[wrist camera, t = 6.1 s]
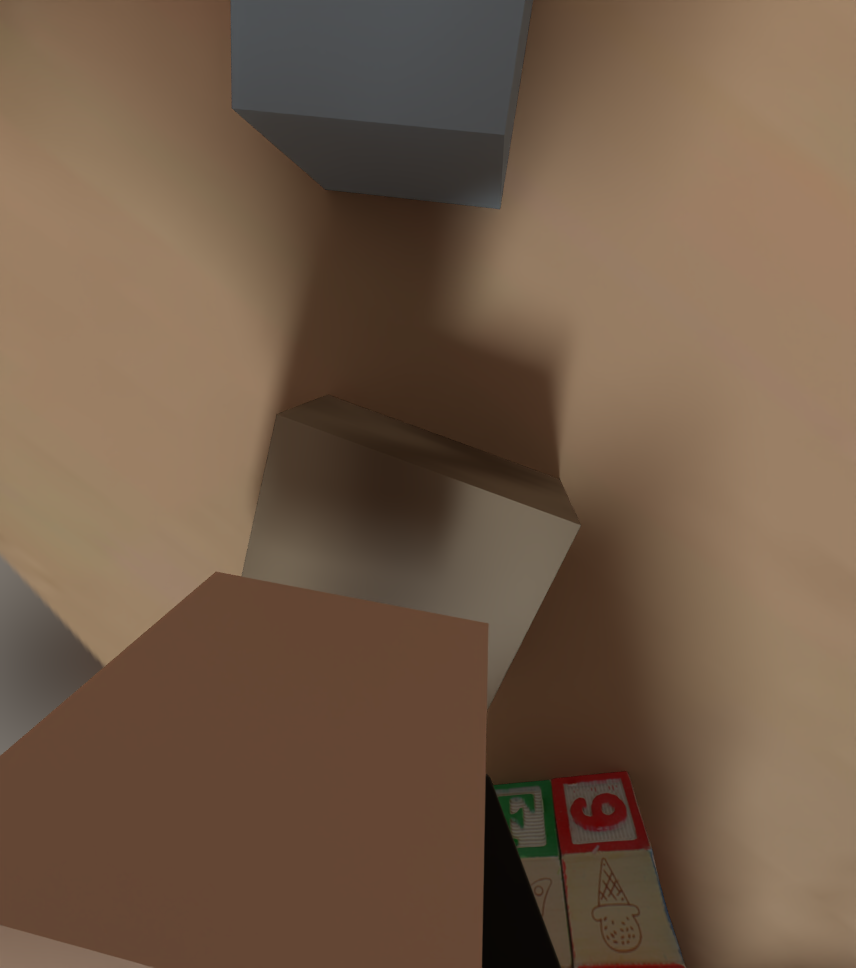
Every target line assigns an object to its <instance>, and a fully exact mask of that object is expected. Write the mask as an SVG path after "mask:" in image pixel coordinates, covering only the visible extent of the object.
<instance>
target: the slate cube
mask: <svg viewBox="0 0 856 968" xmlns="http://www.w3.org/2000/svg"><path fill="white" fill-rule="evenodd" d="M532 4H533V0H231V79H232V109H233V110H234V111H235V112H237V113H238V114H239V115H240V116H241V117H242V118H243V119H245V120H246V121H247V122H248V123H249V124H250V125H252V126H253V127H254V128H255V129H256V130H257V131H258V132H260V133H261V134H262V135H263V136H264V137H265V138H267V139H268V140H269V141H270V142H271V143H272V144H273V145H275V146H276V147H277V148H278V149H279V150H280V151H282V152H283V153H284V154H285V155H286V156H287V157H288V158H290V159H291V160H292V161H293V162H294V163H295V164H297V165H298V166H299V167H300V168H301V169H302V170H303V171H305V172H306V173H307V174H308V175H309V176H310V177H311V178H313V179H314V180H315V181H316V182H317V183H318V184H320V185H321V186H322V187H323V188H324V189H325V190H334V191H343V192H352V193H361V194H370V195H379V196H388V197H397V198H406V199H415V200H424V201H432V202H441V203H450V204H459V205H468V206H477V207H486V208H495V209H500V207H501V201H502V194H503V188H504V182H505V175H506V169H507V163H508V156H509V150H510V144H511V137H512V131H513V125H514V118H515V112H516V106H517V99H518V93H519V87H520V80H521V74H522V68H523V61H524V55H525V49H526V42H527V36H528V30H529V23H530V17H531V11H532Z"/></svg>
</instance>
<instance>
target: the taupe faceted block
mask: <svg viewBox="0 0 856 968" xmlns="http://www.w3.org/2000/svg"><path fill="white" fill-rule="evenodd" d="M580 526H581V524H580V522H579V520H578V518H577V516H576V513H575V511H574V509H573V507H572V505H571V503H570V500H569V498H568V496H567V494H566V492H565V490H564V487H563V485H562V483H561V481H560V479H558V478H555V477H552V476H550V475H547V474H544V473H541V472H539V471H536V470H533V469H530V468H528V467H525V466H522V465H519V464H517V463H514V462H511V461H508V460H506V459H503V458H500V457H497V456H495V455H492V454H489V453H487V452H484V451H481V450H478V449H476V448H473V447H470V446H467V445H465V444H462V443H459V442H456V441H454V440H451V439H448V438H445V437H443V436H440V435H437V434H434V433H432V432H429V431H426V430H423V429H421V428H418V427H415V426H412V425H410V424H407V423H404V422H401V421H399V420H396V419H393V418H390V417H388V416H385V415H382V414H379V413H377V412H374V411H371V410H368V409H366V408H363V407H360V406H357V405H355V404H352V403H349V402H347V401H344V400H341V399H338V398H336V397H333V396H330V395H326V396H323V397H321V398H318V399H315V400H313V401H310V402H307V403H305V404H302V405H300V406H297V407H294V408H292V409H289V410H286V411H284V412H281V413H279V414H277V415H276V420H275V425H274V429H273V434H272V438H271V443H270V448H269V452H268V457H267V461H266V466H265V471H264V475H263V480H262V484H261V489H260V493H259V498H258V503H257V507H256V512H255V516H254V521H253V526H252V530H251V535H250V539H249V544H248V549H247V553H246V558H245V562H244V567H243V572H242V576H241V577H246V578H252V579H257V580H262V581H267V582H273V583H278V584H283V585H289V586H294V587H299V588H304V589H310V590H315V591H320V592H326V593H331V594H336V595H341V596H347V597H352V598H357V599H362V600H368V601H373V602H378V603H384V604H389V605H394V606H399V607H405V608H410V609H415V610H420V611H426V612H431V613H436V614H442V615H447V616H452V617H457V618H463V619H468V620H473V621H479V622H484V623H489V628H488V679H487V710H488V708H489V706H490V704H491V702H492V700H493V698H494V696H495V694H496V692H497V690H498V688H499V686H500V684H501V682H502V680H503V678H504V676H505V674H506V672H507V670H508V668H509V666H510V664H511V663H512V661H513V659H514V657H515V655H516V653H517V651H518V649H519V647H520V645H521V643H522V641H523V639H524V637H525V635H526V633H527V631H528V629H529V627H530V625H531V623H532V621H533V619H534V617H535V615H536V613H537V611H538V609H539V607H540V605H541V603H542V601H543V599H544V597H545V595H546V593H547V591H548V589H549V587H550V585H551V583H552V581H553V579H554V577H555V575H556V574H557V572H558V570H559V568H560V566H561V564H562V562H563V560H564V558H565V556H566V554H567V552H568V550H569V548H570V546H571V544H572V542H573V540H574V538H575V536H576V534H577V532H578V530H579V528H580Z"/></svg>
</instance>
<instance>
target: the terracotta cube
mask: <svg viewBox="0 0 856 968" xmlns="http://www.w3.org/2000/svg"><path fill="white" fill-rule="evenodd" d="M488 628H489V623H484V622H479V621H473V620H468V619H463V618H457V617H452V616H447V615H442V614H436V613H431V612H426V611H420V610H415V609H410V608H405V607H399V606H394V605H389V604H384V603H378V602H373V601H368V600H362V599H357V598H352V597H347V596H341V595H336V594H331V593H326V592H320V591H315V590H310V589H304V588H299V587H294V586H289V585H283V584H278V583H273V582H267V581H262V580H257V579H252V578H246V577H241V576H236V575H231V574H225V573H220V572H215V573H214V574H213V575H211V576H210V577H209V578H208V579H207V580H206V581H204V582H203V583H202V584H201V585H200V586H199V587H197V588H196V589H195V590H194V591H193V592H192V593H190V594H189V595H188V596H187V597H186V598H185V599H183V600H182V601H181V602H180V603H179V604H178V605H176V606H175V607H174V608H173V609H172V610H170V611H169V612H168V613H167V614H166V615H165V616H163V617H162V618H161V619H160V620H159V621H158V622H156V623H155V624H154V625H153V626H152V627H151V628H149V629H148V630H147V631H146V632H145V633H144V634H142V635H141V636H140V637H139V638H138V639H137V640H135V641H134V642H133V643H132V644H131V645H130V646H128V647H127V648H126V649H125V650H124V651H122V652H121V653H120V654H119V655H118V656H117V657H115V658H114V659H113V660H112V661H111V662H110V663H108V664H107V665H106V666H105V667H104V668H103V669H101V670H100V671H99V672H98V673H97V674H96V675H95V676H93V677H92V678H91V679H90V680H89V681H88V682H86V683H85V684H84V685H83V686H81V687H80V688H79V689H78V690H77V691H76V692H75V693H73V694H72V695H71V696H70V697H69V698H67V699H66V700H65V701H64V702H63V703H62V704H60V705H59V706H58V707H57V708H56V709H55V710H53V711H52V712H51V713H50V714H49V715H48V716H46V717H45V718H44V719H43V720H42V721H41V722H39V723H38V724H37V725H36V726H35V727H33V728H32V729H31V730H30V731H29V732H28V733H27V734H25V735H24V736H23V737H22V738H21V739H19V740H18V741H17V742H16V743H15V744H14V745H13V746H11V747H10V748H9V749H8V750H7V751H6V752H4V753H3V754H2V755H1V756H0V968H482V935H483V884H484V833H485V781H486V730H487V679H488Z"/></svg>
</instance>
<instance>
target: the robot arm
mask: <svg viewBox="0 0 856 968" xmlns="http://www.w3.org/2000/svg"><path fill="white" fill-rule="evenodd" d="M482 968H561V965H560V962H559V960H558V957H557V954H556V952H555V949H554V946H553V944H552V941H551V938H550V936H549V933H548V930H547V928H546V925H545V922H544V920H543V917H542V914H541V912H540V909H539V906H538V904H537V901H536V898H535V896H534V893H533V890H532V888H531V885H530V882H529V880H528V877H527V874H526V872H525V869H524V866H523V864H522V861H521V858H520V856H519V853H518V850H517V848H516V845H515V842H514V840H513V837H512V834H511V832H510V829H509V826H508V824H507V821H506V818H505V816H504V813H503V810H502V808H501V805H500V802H499V799H498V797H497V794H496V791H495V789H494V786H493V783H492V781H491V779H490V777H489V776H488V775H487V774H486V781H485V833H484V884H483V935H482Z"/></svg>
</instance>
